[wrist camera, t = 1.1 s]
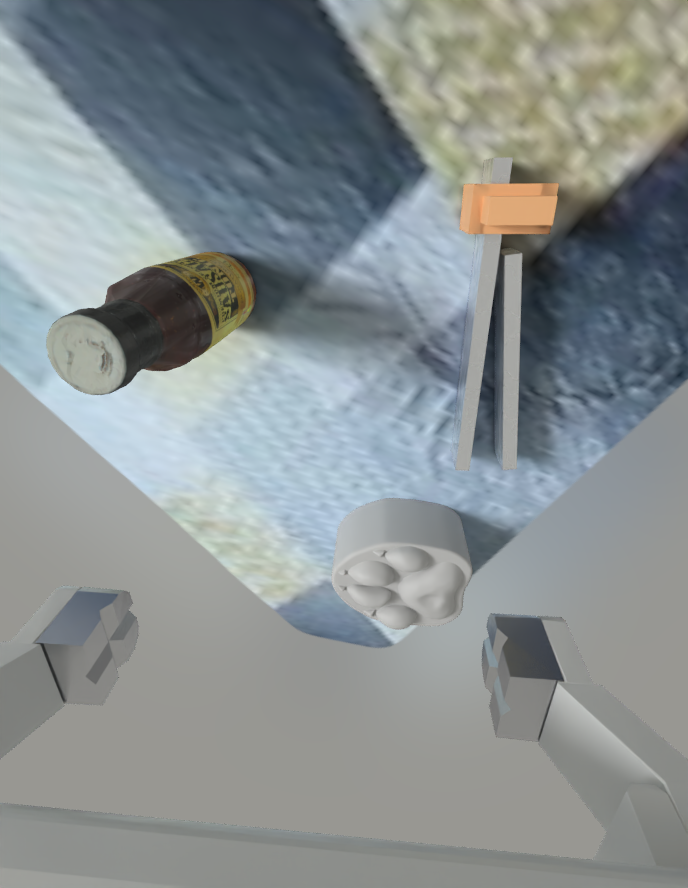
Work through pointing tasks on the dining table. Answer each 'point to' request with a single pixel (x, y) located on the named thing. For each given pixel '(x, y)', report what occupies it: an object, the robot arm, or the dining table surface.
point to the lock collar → (508, 208)
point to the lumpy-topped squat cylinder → (402, 562)
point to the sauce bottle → (152, 322)
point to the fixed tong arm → (477, 325)
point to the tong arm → (507, 355)
